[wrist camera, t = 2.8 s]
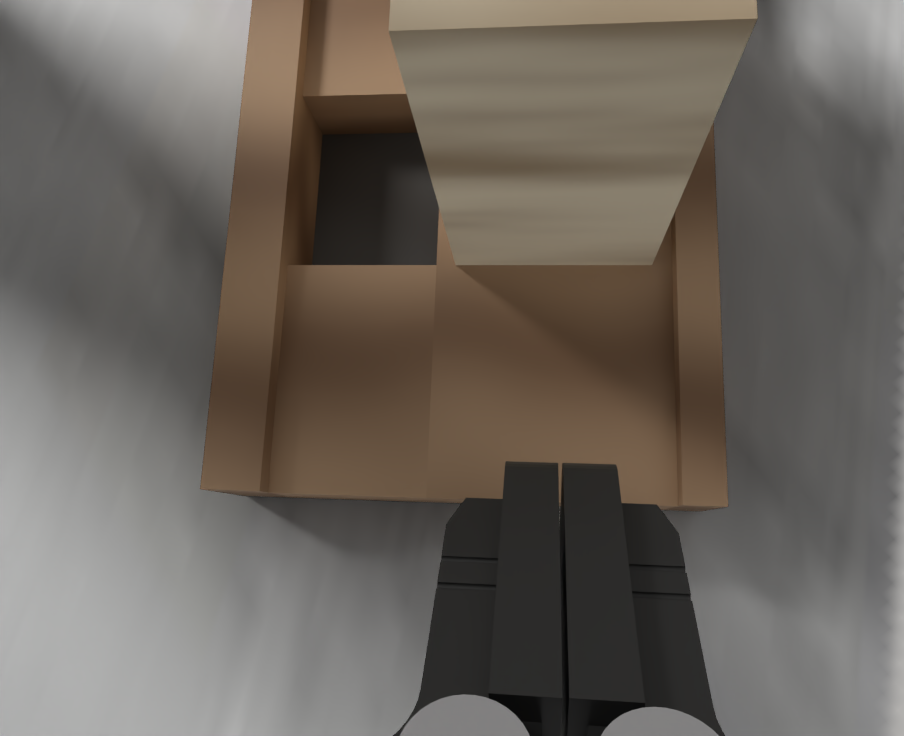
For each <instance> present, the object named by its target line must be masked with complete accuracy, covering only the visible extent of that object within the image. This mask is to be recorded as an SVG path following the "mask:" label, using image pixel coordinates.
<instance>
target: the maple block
mask: <svg viewBox="0 0 904 736" xmlns="http://www.w3.org/2000/svg"><path fill="white" fill-rule="evenodd" d="M757 19H758V16H757V0H390V15H389V34H390V38H391V41H392V45H393V48H394V52H395V55H396V59H397V62H398V66H399V69H400V73H401V76H402V80H403V83H404V87H405V90H406V94H407V97H408V101H409V104H410V108H411V111H412V115H413V118H414V122H415V125H416V129H417V132H418V136H419V139H420V143H421V146H422V150H423V153H424V157H425V160H426V164H427V167H428V171H429V174H430V178H431V181H432V185H433V188H434V192H435V195H436V199H437V202H438V206H439V209H440V213H441V216H442V220H443V223H444V227H445V230H446V234H447V237H448V240H449V244H450V247H451V251H452V254H453V258H454V261H455V265H652V264H653V262H654V259H655V257H656V255H657V252H658V250H659V248H660V245H661V243H662V241H663V238H664V236H665V234H666V231H667V229H668V227H669V224H670V222H671V220H672V217H673V215H674V213H675V210H676V208H677V206H678V203H679V201H680V199H681V196H682V194H683V192H684V189H685V187H686V185H687V182H688V180H689V178H690V175H691V173H692V171H693V168H694V166H695V164H696V161H697V159H698V157H699V154H700V152H701V150H702V147H703V145H704V143H705V140H706V138H707V136H708V133H709V131H710V129H711V126H712V124H713V122H714V119H715V117H716V114H717V112H718V110H719V107H720V105H721V103H722V100H723V98H724V96H725V93H726V91H727V89H728V86H729V84H730V82H731V79H732V77H733V75H734V72H735V70H736V68H737V65H738V63H739V61H740V58H741V56H742V54H743V51H744V49H745V47H746V44H747V42H748V40H749V37H750V35H751V33H752V30H753V28H754V26H755V23H756V21H757Z"/></svg>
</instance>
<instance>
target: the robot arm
mask: <svg viewBox="0 0 904 736" xmlns="http://www.w3.org/2000/svg"><path fill="white" fill-rule="evenodd" d="M690 596H691V593H690V588H689V583H688V578H687V573H685V563H684V558H683V553H682V548H681V543H680V538H679V533H678V532H677V531H676V529H675V528H674V527H673V525H672V524H671V523H670V521H669V520H668V519H667V517H666V516H665V515H664V513H663V512H662V511H661V509H660V508H659V507H658V505H657V504H634V503H622V502H621V494H620V485H619V477H618V469H617V466H616V464H588V463H562V479H561V504H560V529H559V477H558V463H548V462H516V461H506V462H505V472H504V486H503V499H490V498H465V500H464V501H463V502H462V504H461V505H460V506H459V508H458V509H457V511H456V512H455V513H454V515H453V516H452V517H451V519H450V520H449V521H448V523H447V524H446V531H445V537H444V544H443V550H442V560H441V563H440V569H439V576H438V586H437V589H436V595H435V601H434V608H433V614H432V620H431V627H430V633H429V640H428V646H427V653H426V659H425V665H424V672H423V678H422V685H421V690H420V694H419V698H418V701H417V703H416V706H415V708H414V710H413V712H412V714H411V715H410V717H409V719H408V720H407V721H406V723H405V724H404V725H403V726H402V727H401V729H400V730H399V731H398V732H397V733H396V734H394V735H393V736H725V735H724V733H723V732H722V730H721V728H720V725H719V723H718V721H717V719H716V715H715V712H714V708H713V704H712V699H711V694H710V689H709V684H708V679H707V674H706V669H705V664H704V659H703V654H702V649H701V643H700V638H699V633H698V628H697V623H696V618H695V613H694V608H693V603H692V601H691V598H690Z"/></svg>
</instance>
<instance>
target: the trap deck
mask: <svg viewBox="0 0 904 736" xmlns="http://www.w3.org/2000/svg"><path fill="white" fill-rule="evenodd" d="M389 15H390V0H252V8H251V17H250V27H249V36H248V45H247V55H246V64H245V74H244V83H243V92H242V102H241V111H240V120H239V130H238V139H237V149H236V158H235V167H234V177H233V186H232V195H231V205H230V214H229V223H228V233H227V242H226V252H225V261H224V270H223V280H222V289H221V298H220V308H219V317H218V326H217V336H216V345H215V355H214V364H213V373H212V383H211V392H210V401H209V411H208V420H207V429H206V439H205V448H204V458H203V467H202V476H201V486H200V489H203V490H209V491H216V492H222V493H229V494H236V495H242V496H262V497H291V498H321V499H350V500H380V501H409V502H439V503H462V502H463V501H464V500H465V498H490V499H503V486H504V472H505V462H506V461H516V462H548V463H558V477H559V507H560V504H561V479H562V463H588V464H616V466H617V469H618V477H619V485H620V494H621V502H622V503H634V504H657V505H658V507H659V508H660V509H661V510H675V511H706V510H711V509H717V508H723V507H728V488H727V462H726V436H725V410H724V384H723V358H722V332H721V306H720V280H719V254H718V228H717V202H716V175H715V149H714V123H713V124H712V126H711V129H710V131H709V133H708V136H707V138H706V140H705V143H704V145H703V147H702V150H701V152H700V154H699V157H698V159H697V161H696V164H695V166H694V168H693V171H692V173H691V175H690V178H689V180H688V182H687V185H686V187H685V189H684V192H683V194H682V196H681V199H680V201H679V203H678V206H677V208H676V210H675V213H674V215H673V217H672V220H671V222H670V224H669V227H668V229H667V231H666V234H665V236H664V238H663V241H662V243H661V245H660V248H659V250H658V252H657V255H656V257H655V259H654V262H653V264H652V265H455V261H454V258H453V254H452V251H451V247H450V244H449V240H448V237H447V234H446V230H445V227H444V223H443V220H442V216H441V213H440V209H439V206H438V202H437V199H436V195H435V192H434V188H433V185H432V181H431V178H430V174H429V171H428V167H427V164H426V160H425V157H424V153H423V150H422V146H421V143H420V139H419V136H418V132H417V129H416V125H415V122H414V118H413V115H412V111H411V108H410V104H409V101H408V97H407V94H406V90H405V87H404V83H403V80H402V76H401V73H400V69H399V66H398V62H397V59H396V55H395V52H394V48H393V45H392V41H391V38H390V34H389Z"/></svg>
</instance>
